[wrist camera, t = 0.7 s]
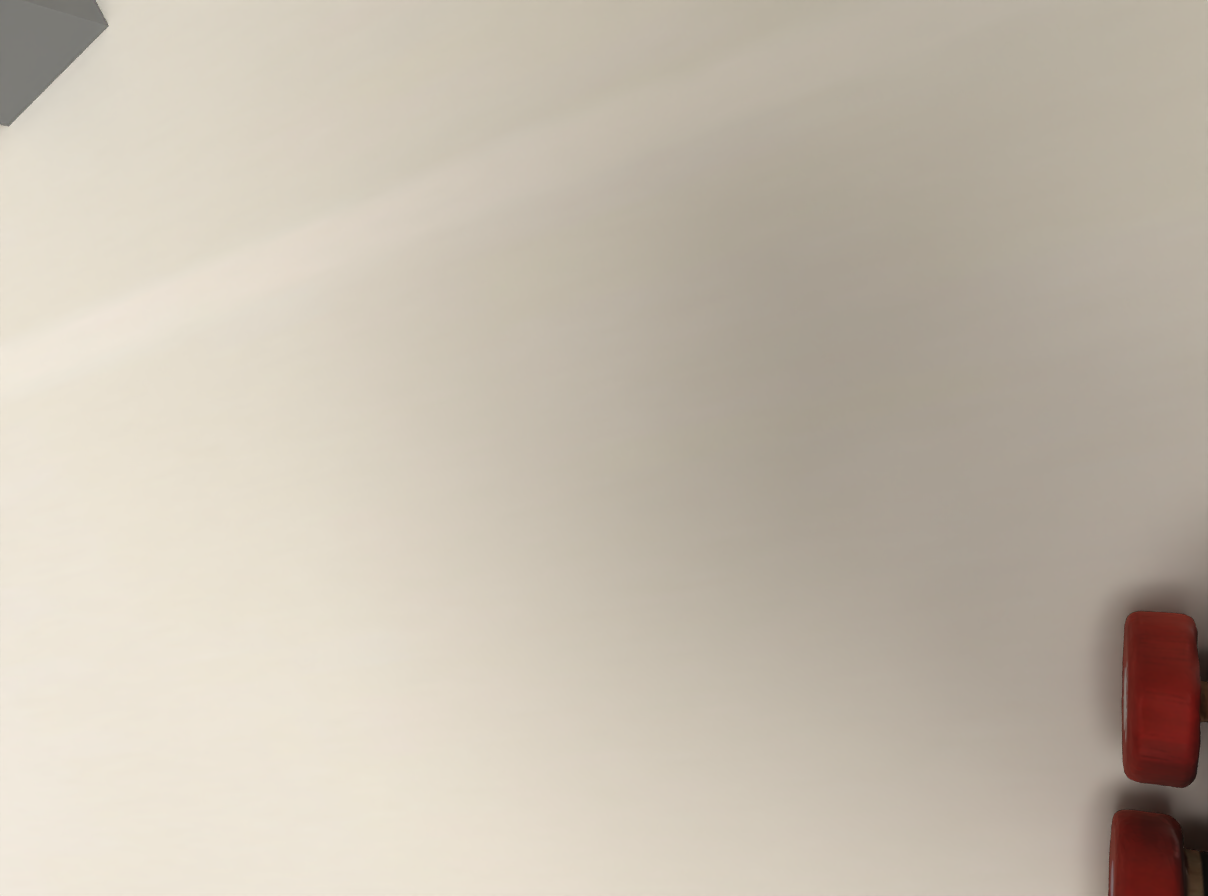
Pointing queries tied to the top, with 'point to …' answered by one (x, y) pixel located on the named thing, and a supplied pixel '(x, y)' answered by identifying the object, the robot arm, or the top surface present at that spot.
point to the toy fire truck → (1159, 754)
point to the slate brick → (40, 46)
